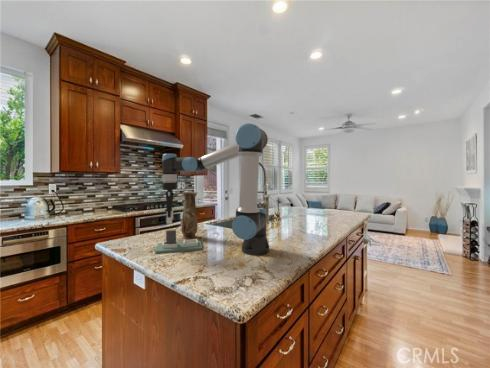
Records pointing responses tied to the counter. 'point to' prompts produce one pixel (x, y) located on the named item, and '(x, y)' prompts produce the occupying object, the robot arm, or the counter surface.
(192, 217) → the vase
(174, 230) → the plug
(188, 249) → the board
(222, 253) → the counter surface
